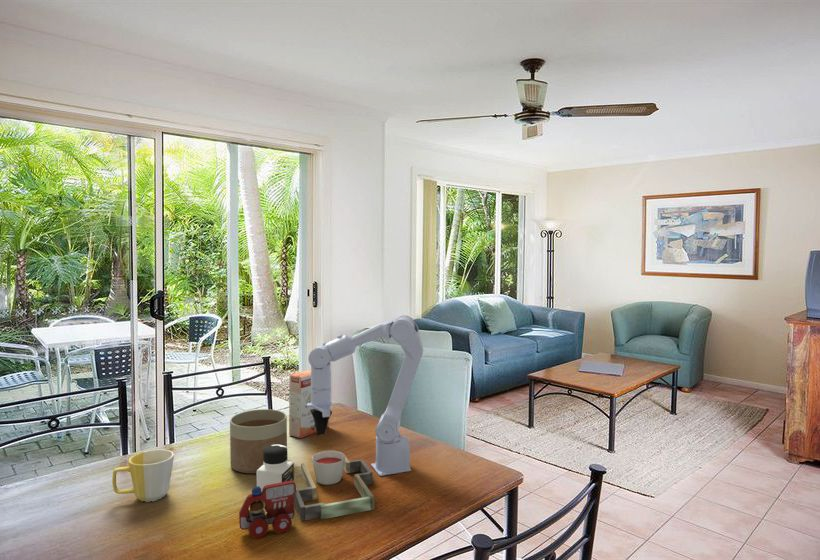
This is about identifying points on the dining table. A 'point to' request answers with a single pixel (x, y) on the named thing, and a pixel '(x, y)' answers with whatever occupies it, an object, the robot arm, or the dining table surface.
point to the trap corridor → (338, 507)
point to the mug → (148, 474)
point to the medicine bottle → (275, 466)
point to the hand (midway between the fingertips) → (321, 434)
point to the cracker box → (300, 405)
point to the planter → (255, 437)
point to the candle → (328, 466)
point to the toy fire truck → (268, 509)
